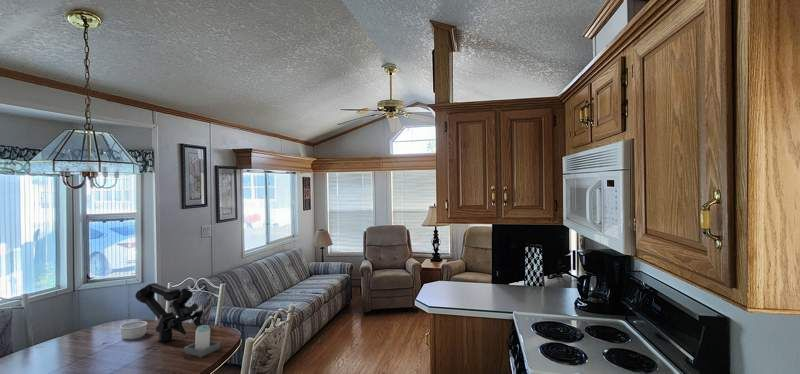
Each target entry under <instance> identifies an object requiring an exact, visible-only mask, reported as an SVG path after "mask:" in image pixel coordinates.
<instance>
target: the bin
mask: <svg viewBox="0 0 800 374" xmlns="http://www.w3.org/2000/svg"><path fill="white" fill-rule="evenodd" d="M221 344H222V342H218V341H214V340H210V346H209V348H206V349H204V350H202V351H201V350H197V349H195V342H193V343H191V344H189V345H186V346H184V347H183V354H187V355H190V356H194V357H199V358H203V357H205V356H207V355H209V354H211V353H214V352H215V351H219V350H220V349H221Z"/></svg>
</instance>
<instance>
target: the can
mask: <svg viewBox="0 0 800 374" xmlns="http://www.w3.org/2000/svg"><path fill="white" fill-rule="evenodd" d="M196 327H197V326H196ZM194 339H195V340H194V341H195V342H194V343H195V349H197V350H201V351H202V350H204V349H206V348H209V346H210V341H211V328H210V325H208V324H201V326H198V327H197V328H196V330H195V338H194Z"/></svg>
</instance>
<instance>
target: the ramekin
mask: <svg viewBox="0 0 800 374" xmlns="http://www.w3.org/2000/svg"><path fill="white" fill-rule="evenodd" d="M147 326H148V322H147V321H144V320H135V321H129V322H125V323H122V324H121V325H120V327H119V330H120V336H121V339H123V340H135V339H139V338H142V337H143V336H145V334H146V333H147Z"/></svg>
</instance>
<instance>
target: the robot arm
mask: <svg viewBox="0 0 800 374" xmlns="http://www.w3.org/2000/svg"><path fill="white" fill-rule="evenodd" d="M155 294H157V295H159V296H162V297H163V299H164V300H165V301H167V302H170V301H171V302H170V304H169V308H173V311H174V313H173V312H172V311H171V312H167V311H166V310H165V309H164V308H163V306H162V305H161V304H160V303H159V302H158V300H157V299H156V298H155ZM134 295H135V299H136V300H137V301H138V302H140V303H142V304H146V306H147V308H148V309H149V310H150V311H151V313H153V314H154V316H155V317H156V318H157V319H158V322H157V323H158V325H157V326H156V327H155V331H156V332H157V333H159V337H158V338H159V339H158V340H156V342H157V343H161V344H167V343H169V342H172V341H174V340H175V338H173V330H174V331H176V332H179V333H180V334H182V335H183V336H185V335H187V332H186V330H185V328H184V326H183V322H187V321H190V320H192V323H193V324H194V325H195V326H196V327H198V326H201V325H202V324H201V323H202V321H201V319H202V317H203V315H204V314H205V312H204V311H203V310H198V309H199V305H198V304H197V303H194V304H191V306H188V305H187V306H186V304H187V303H188V302H189V301H190V300H191V299H192V297H193V295H194V294H193V291H191V290H190V289H187V288H182V289H181V290H180V289H178V288H170V287H166V286H163V285H160V284H159V283H157V282H153V283H149V284H147V285H145V286H144V287H142V288H141V289H139V290H137V291H136V293H135V294H134Z"/></svg>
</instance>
